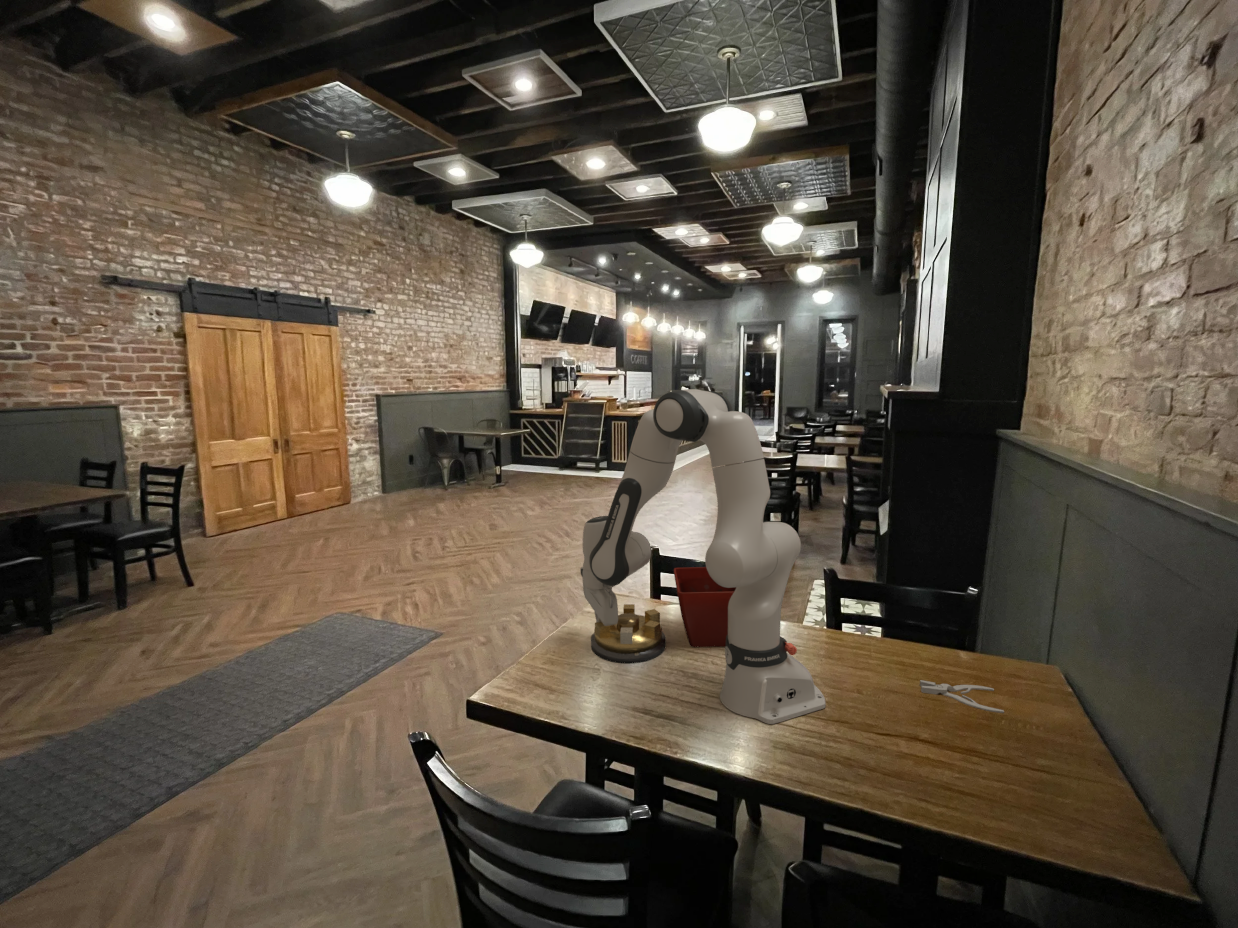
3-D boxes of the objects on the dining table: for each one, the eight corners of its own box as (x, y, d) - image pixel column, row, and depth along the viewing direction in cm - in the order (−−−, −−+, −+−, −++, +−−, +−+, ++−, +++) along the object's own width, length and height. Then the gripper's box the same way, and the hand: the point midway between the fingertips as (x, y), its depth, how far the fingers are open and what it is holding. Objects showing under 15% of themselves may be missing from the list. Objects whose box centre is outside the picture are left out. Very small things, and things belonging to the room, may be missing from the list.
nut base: (654, 625, 163) (654, 617, 162) (675, 658, 143) (675, 649, 143) (586, 632, 159) (585, 625, 159) (597, 667, 140) (597, 658, 139)
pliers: (1004, 708, 117) (923, 694, 122) (1004, 715, 117) (922, 701, 123) (993, 684, 126) (918, 672, 132) (993, 690, 126) (917, 678, 132)
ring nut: (598, 622, 160) (597, 604, 159) (661, 622, 159) (661, 604, 158) (591, 652, 142) (590, 632, 142) (662, 653, 141) (662, 632, 141)
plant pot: (678, 653, 146) (677, 591, 143) (673, 622, 164) (673, 567, 162) (752, 653, 145) (753, 591, 142) (739, 622, 164) (740, 566, 161)
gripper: (624, 590, 138) (624, 642, 140) (600, 563, 157) (601, 610, 159) (599, 593, 136) (600, 646, 138) (578, 566, 155) (579, 613, 157)
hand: (600, 627), depth 149 cm, fingers closed, pressing on ring nut
